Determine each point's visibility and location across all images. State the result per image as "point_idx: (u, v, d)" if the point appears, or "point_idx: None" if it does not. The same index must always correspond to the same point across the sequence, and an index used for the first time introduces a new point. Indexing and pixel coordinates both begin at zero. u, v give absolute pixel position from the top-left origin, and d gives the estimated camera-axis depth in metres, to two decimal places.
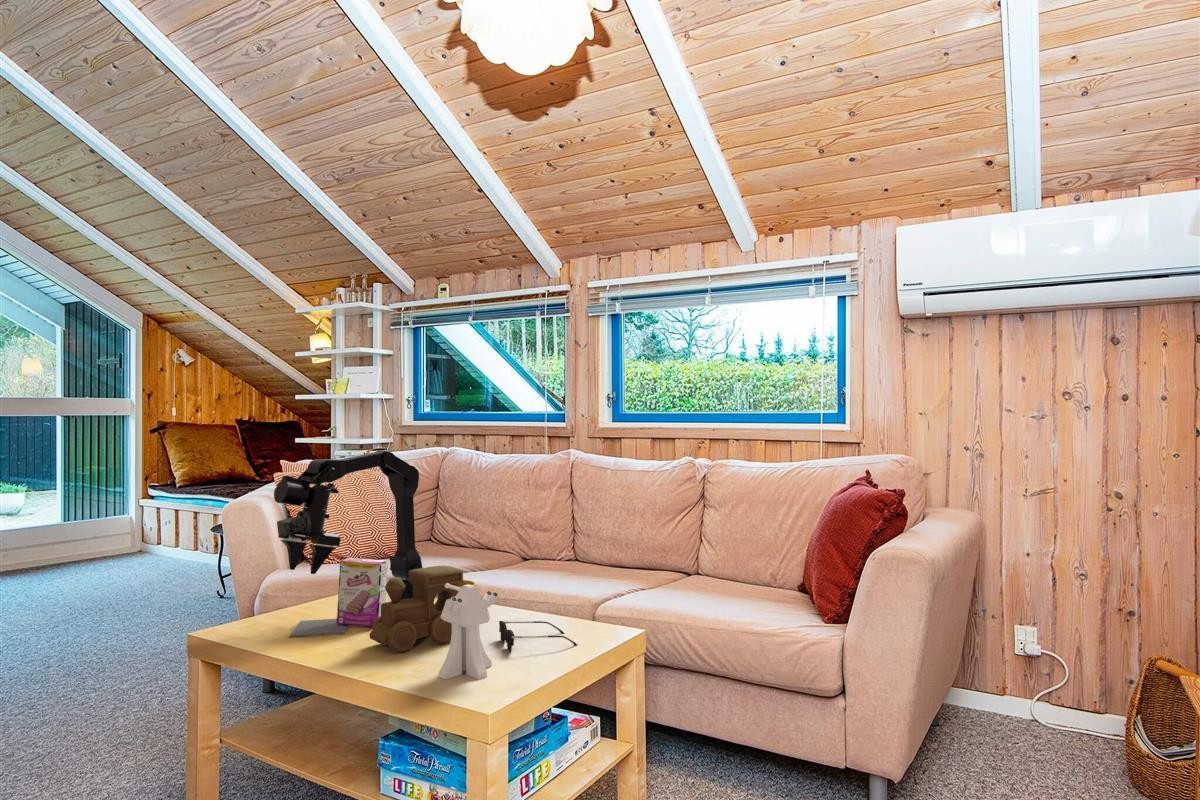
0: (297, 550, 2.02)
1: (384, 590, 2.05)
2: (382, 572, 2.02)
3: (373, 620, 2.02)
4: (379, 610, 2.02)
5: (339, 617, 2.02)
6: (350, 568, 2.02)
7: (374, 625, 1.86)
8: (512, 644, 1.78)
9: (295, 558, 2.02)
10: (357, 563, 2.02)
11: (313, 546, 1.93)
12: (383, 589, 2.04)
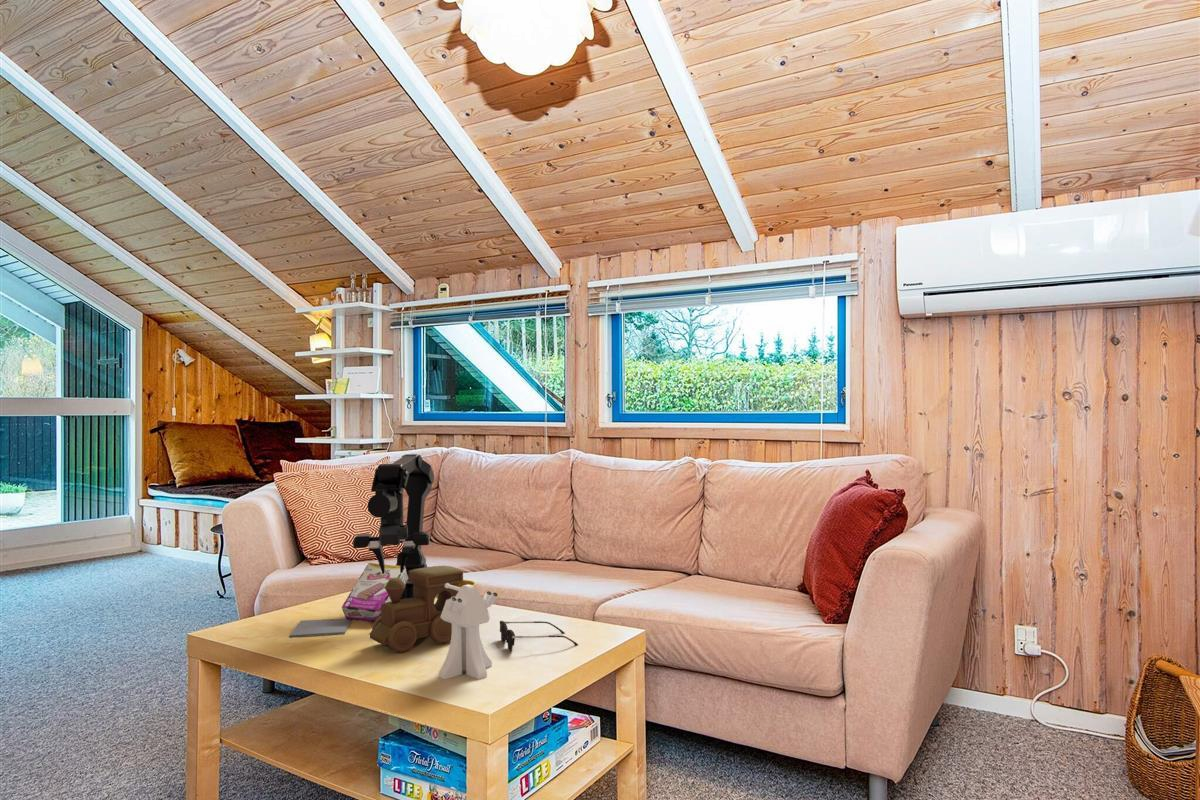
0: (381, 554, 2.06)
1: None
2: (402, 574, 2.15)
3: (378, 605, 2.05)
4: (387, 600, 2.07)
5: (347, 601, 2.07)
6: (375, 567, 2.17)
7: (374, 625, 1.86)
8: (513, 644, 1.78)
9: (383, 562, 2.06)
10: None
11: (409, 548, 2.04)
12: None
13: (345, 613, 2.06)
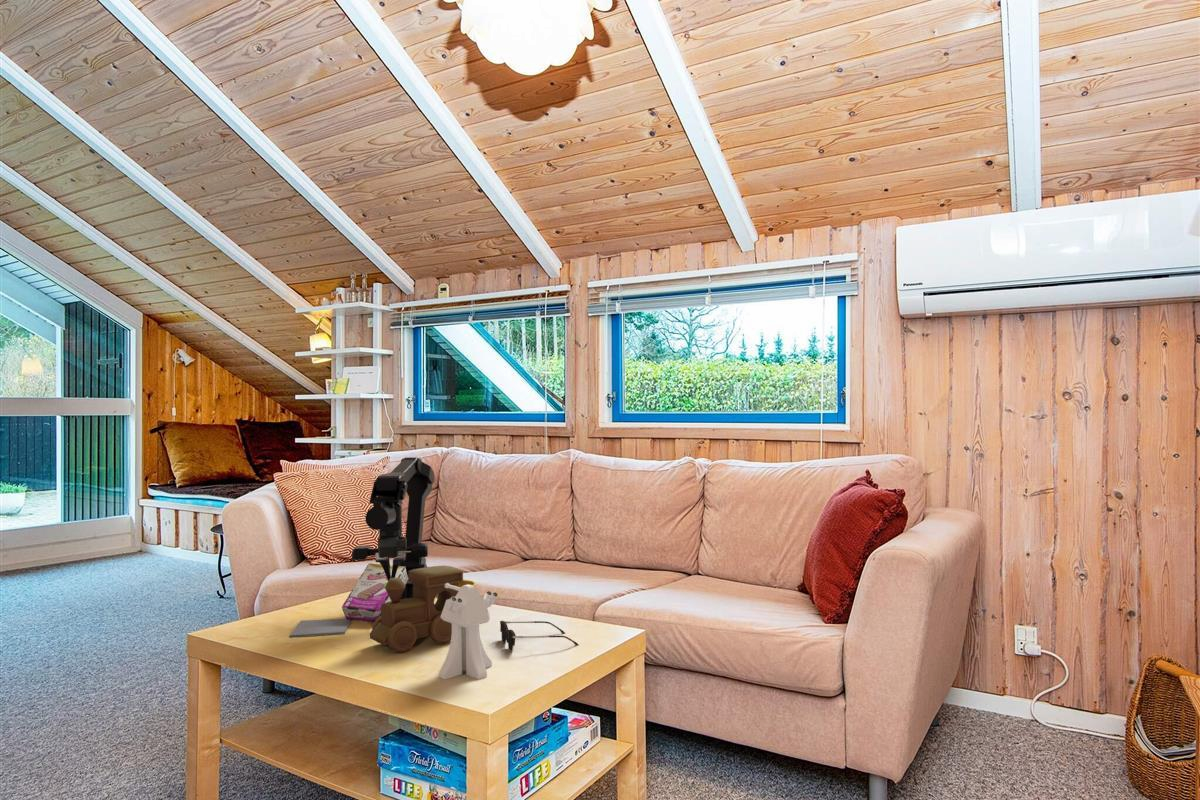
0: (388, 565, 2.06)
1: None
2: (402, 574, 2.15)
3: (378, 605, 2.05)
4: (387, 599, 2.07)
5: (347, 601, 2.07)
6: (375, 567, 2.17)
7: (374, 625, 1.86)
8: (513, 644, 1.78)
9: (389, 573, 2.06)
10: None
11: (399, 560, 2.03)
12: None
13: (345, 613, 2.06)
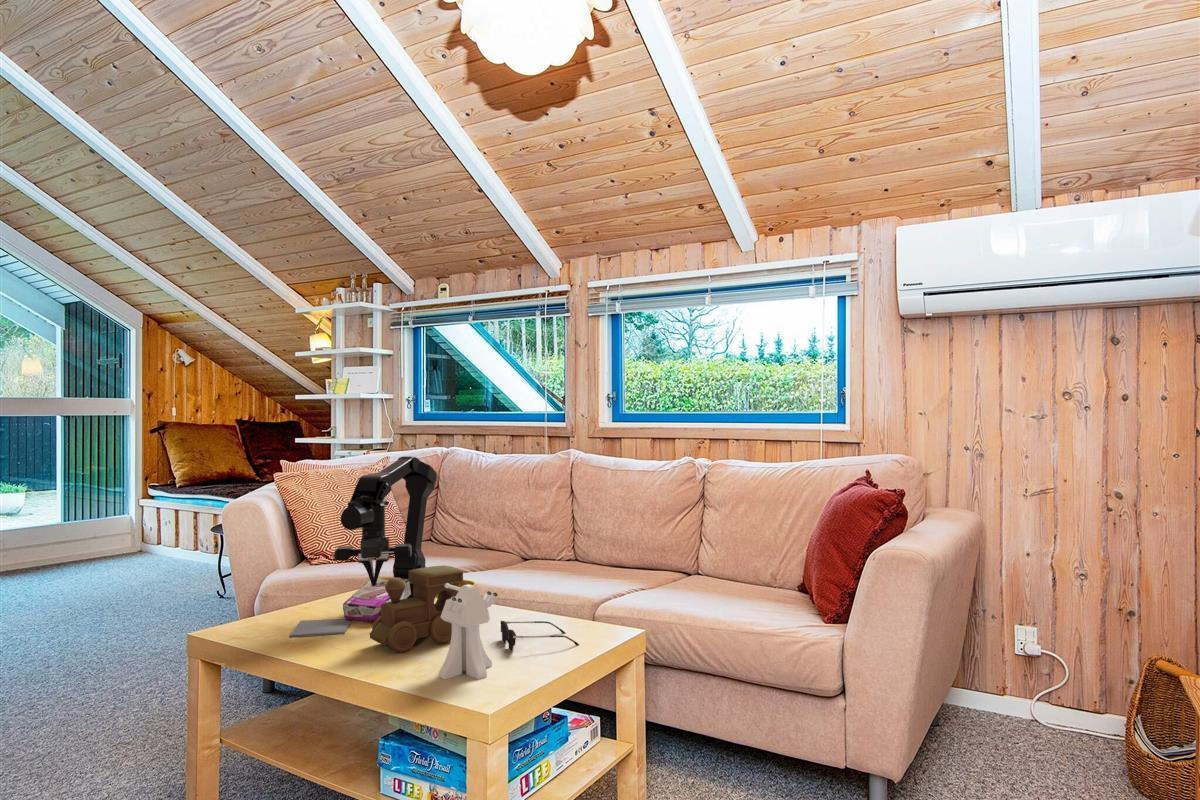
0: (371, 566, 2.05)
1: None
2: None
3: (379, 603, 2.06)
4: (388, 601, 2.08)
5: (348, 600, 2.08)
6: (380, 579, 2.19)
7: (374, 625, 1.86)
8: (514, 644, 1.78)
9: (372, 574, 2.05)
10: None
11: (382, 561, 2.03)
12: None
13: (345, 611, 2.07)
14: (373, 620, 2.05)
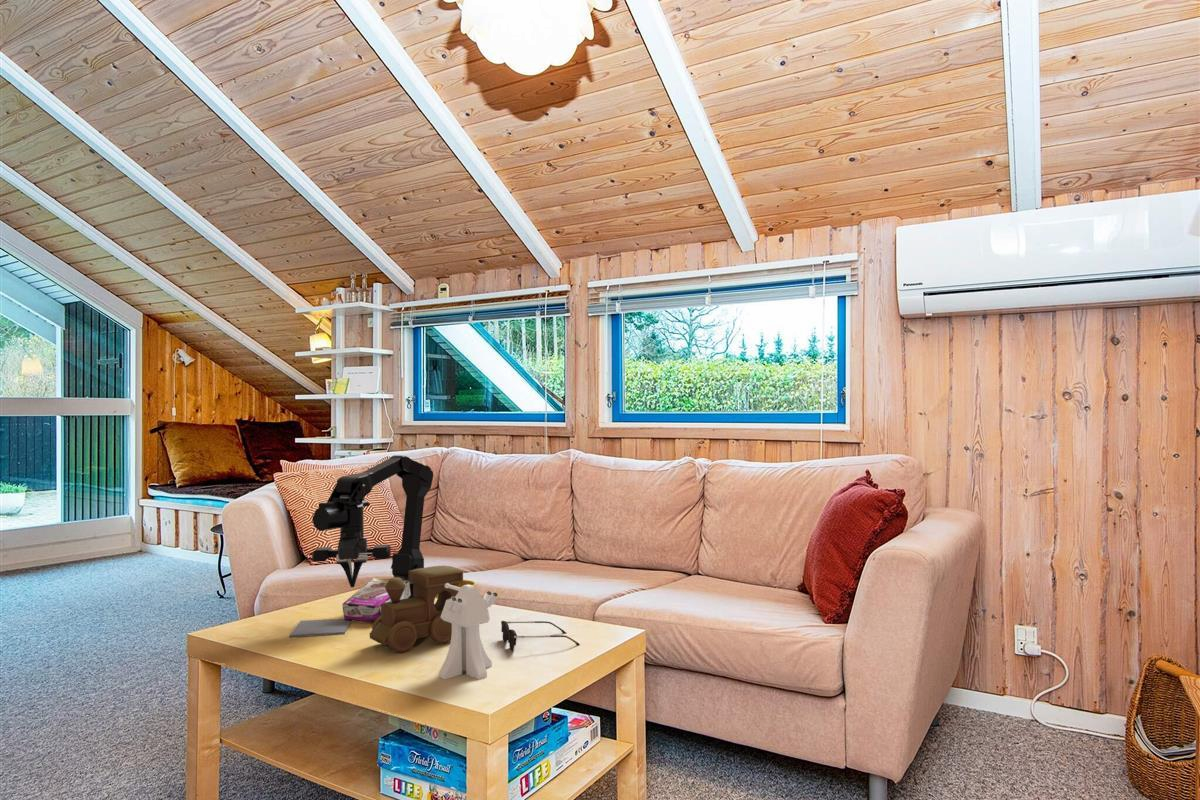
0: (350, 567, 2.05)
1: None
2: None
3: (379, 603, 2.06)
4: (388, 600, 2.08)
5: (348, 600, 2.08)
6: (380, 580, 2.20)
7: (374, 625, 1.86)
8: (514, 644, 1.79)
9: (351, 575, 2.04)
10: (388, 579, 2.20)
11: (360, 562, 2.02)
12: None
13: (345, 611, 2.07)
14: (372, 620, 2.05)
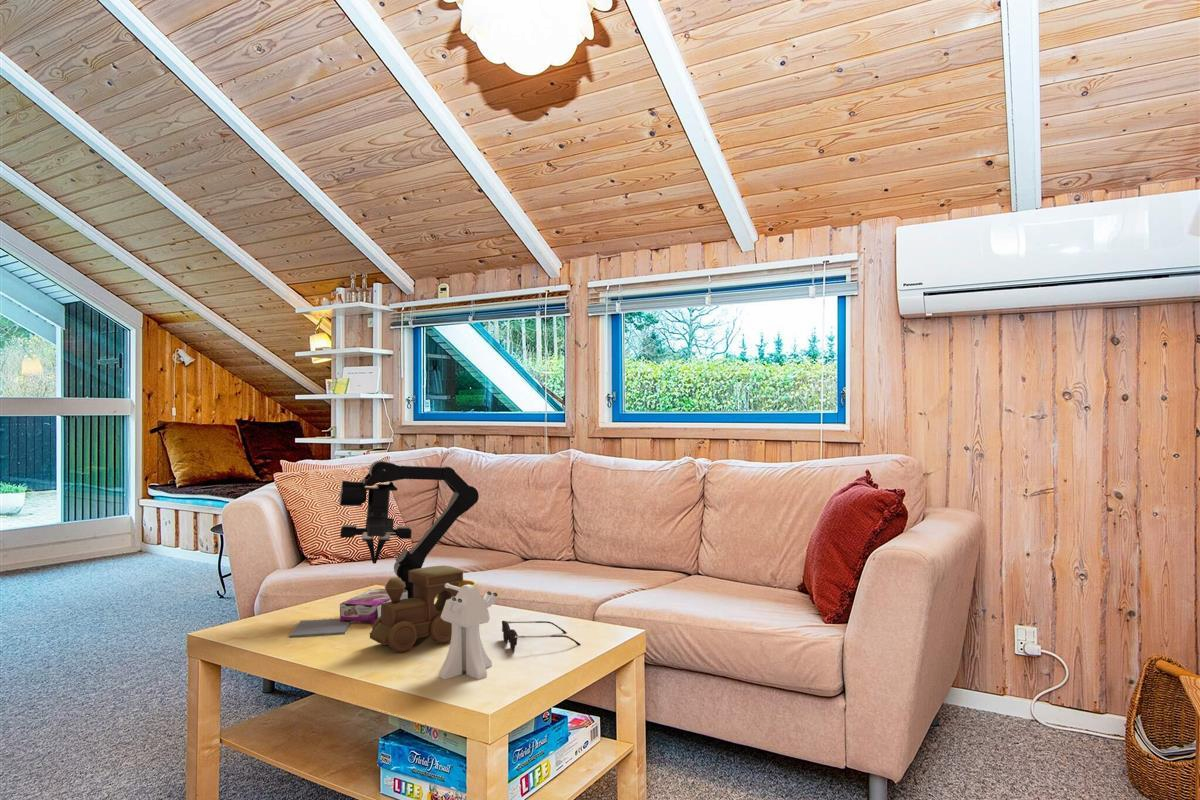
0: None
1: None
2: (403, 595, 2.17)
3: (376, 603, 2.06)
4: (385, 602, 2.08)
5: (346, 601, 2.08)
6: (378, 589, 2.20)
7: (374, 625, 1.86)
8: (515, 644, 1.79)
9: (373, 553, 2.21)
10: None
11: (385, 540, 2.18)
12: None
13: (341, 612, 2.06)
14: (369, 620, 2.05)
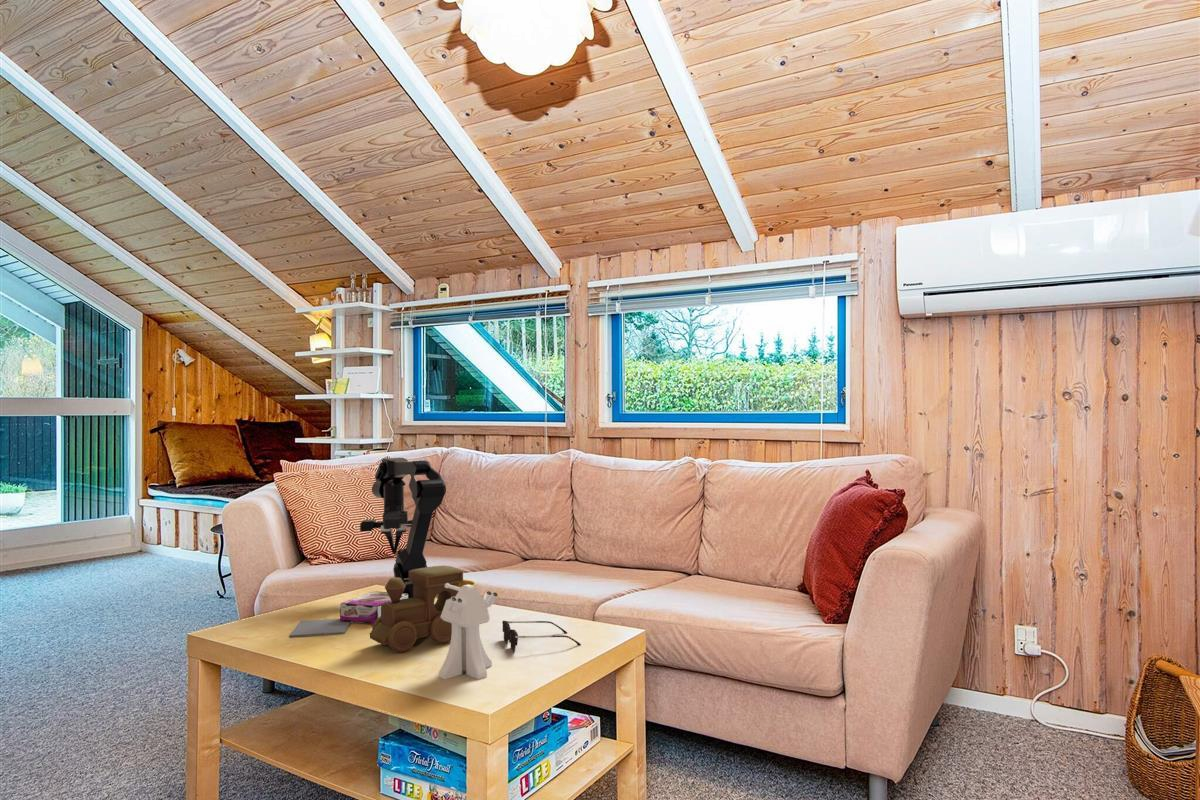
0: (392, 537, 2.35)
1: None
2: (404, 598, 2.17)
3: (377, 604, 2.06)
4: None
5: (346, 601, 2.08)
6: (379, 592, 2.20)
7: (374, 625, 1.86)
8: (516, 644, 1.79)
9: (393, 544, 2.35)
10: None
11: (401, 532, 2.33)
12: None
13: (341, 612, 2.07)
14: (368, 620, 2.04)
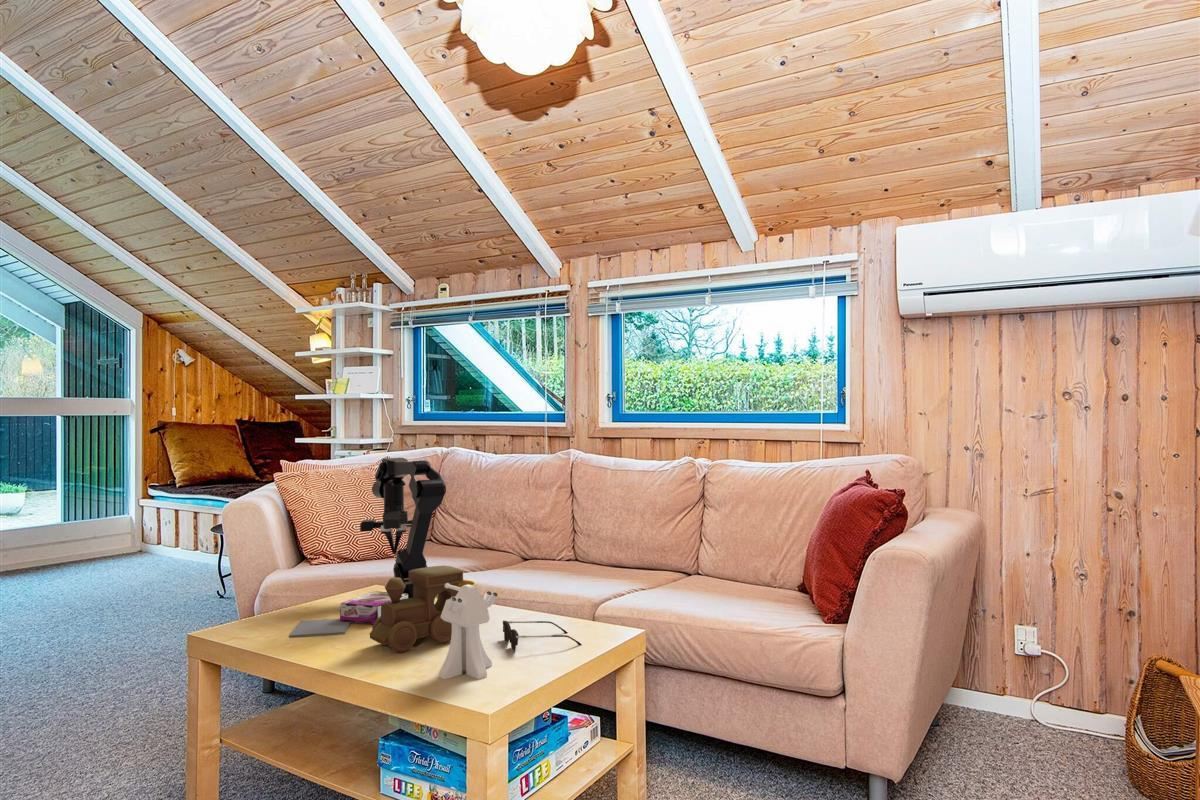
0: (392, 537, 2.35)
1: None
2: (404, 598, 2.17)
3: (377, 604, 2.06)
4: None
5: (346, 601, 2.08)
6: (379, 592, 2.20)
7: (374, 625, 1.86)
8: (516, 644, 1.79)
9: (393, 544, 2.35)
10: None
11: (401, 532, 2.33)
12: None
13: (341, 612, 2.07)
14: (368, 620, 2.04)
